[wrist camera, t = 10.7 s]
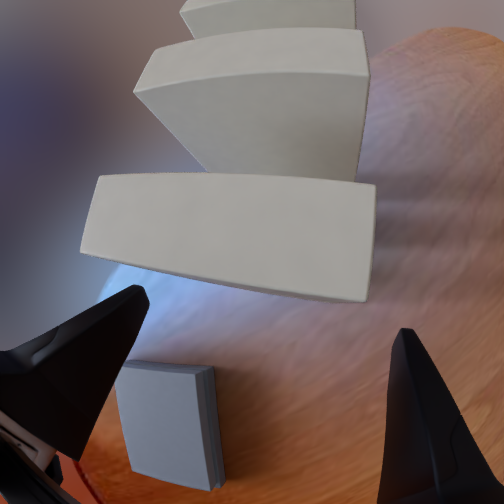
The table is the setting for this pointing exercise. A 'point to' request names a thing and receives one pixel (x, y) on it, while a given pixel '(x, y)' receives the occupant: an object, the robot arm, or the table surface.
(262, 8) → the cream books
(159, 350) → the table surface
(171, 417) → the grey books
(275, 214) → the slim cream book
